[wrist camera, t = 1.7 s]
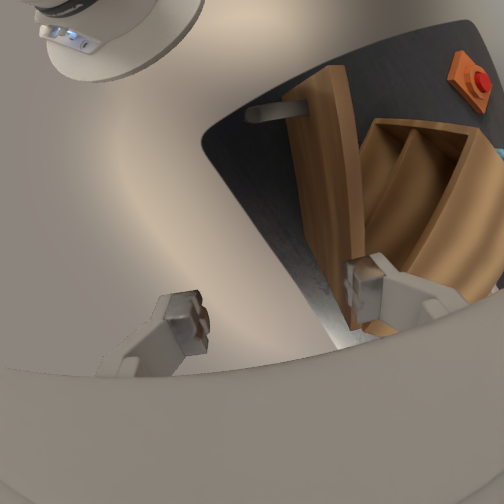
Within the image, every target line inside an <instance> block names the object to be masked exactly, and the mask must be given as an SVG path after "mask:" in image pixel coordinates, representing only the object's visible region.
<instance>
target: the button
mask: <svg viewBox="0 0 504 504" xmlns="http://www.w3.org/2000/svg"><path fill="white" fill-rule="evenodd" d="M474 80H475V84H476V86H477V88H478V89H479V90H480V91H484V92H489V91H490V90H491V81H490V79H489V77H488V75H487V74H485V73H476V74H475V75H474Z"/></svg>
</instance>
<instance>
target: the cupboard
mask: <svg viewBox="0 0 504 504" xmlns="http://www.w3.org/2000/svg"><path fill="white" fill-rule="evenodd" d="M359 155H360V165H361V175H362V188H363V203H364V225H365V256H367V255H371V254H375V253H378V252H380V253H382V254H383V255H384V256H385V257H386V258H387V259H388V260H389V262H390V263H391V264H392V265H393V266H394V267H395V268H396V269H397V270H398V271H399V272H406V273H409V274H412V275H415V276H418V277H421V278H424V279H427V280H430V281H433V282H436V283H439V284H442V285H445V286H448V287H451V288H454V289H456V290H457V291H458V292H459V293H460V294H461V296H462V297H463V298H464V299H465V300H466V301H467V302H468V303H469V304H472V303H475V302H477V301H479V300H481V299H483V298H485V297H487V296H488V295H489V294H490V292H491V291H492V289H493V287H494V286H495V284H496V283H497V281H498V279H499V278H500V276H501V274H502V272H503V271H504V161H503V160H502V158H501V157H500V155H499V154H498V153H497V151H496V150H495V149H494V147H493V146H492V145H491V143H490V142H489V141H488V139H487V138H486V137H485V136H484V134H483V133H482V132H481V131H480V129H479V128H475V127H469V126H463V125H456V124H449V123H441V122H432V121H421V120H408V119H390V118H374V120H373V122H372V124H371V126H370V128H369V130H368V132H367V135H366V137H365V139H364V141H363V143H362V145H361V147H360V149H359ZM362 330H363V332H364V333H368V334H372V335H375V336H379V337H386V336H389V335H392V334H395V333H398V331H397V330H395V329H393V328H392V327H390V326H389V325H387V324H385V323H384V322H382V321H380V319H377V320H373V321H369V322H365V323H362Z"/></svg>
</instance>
